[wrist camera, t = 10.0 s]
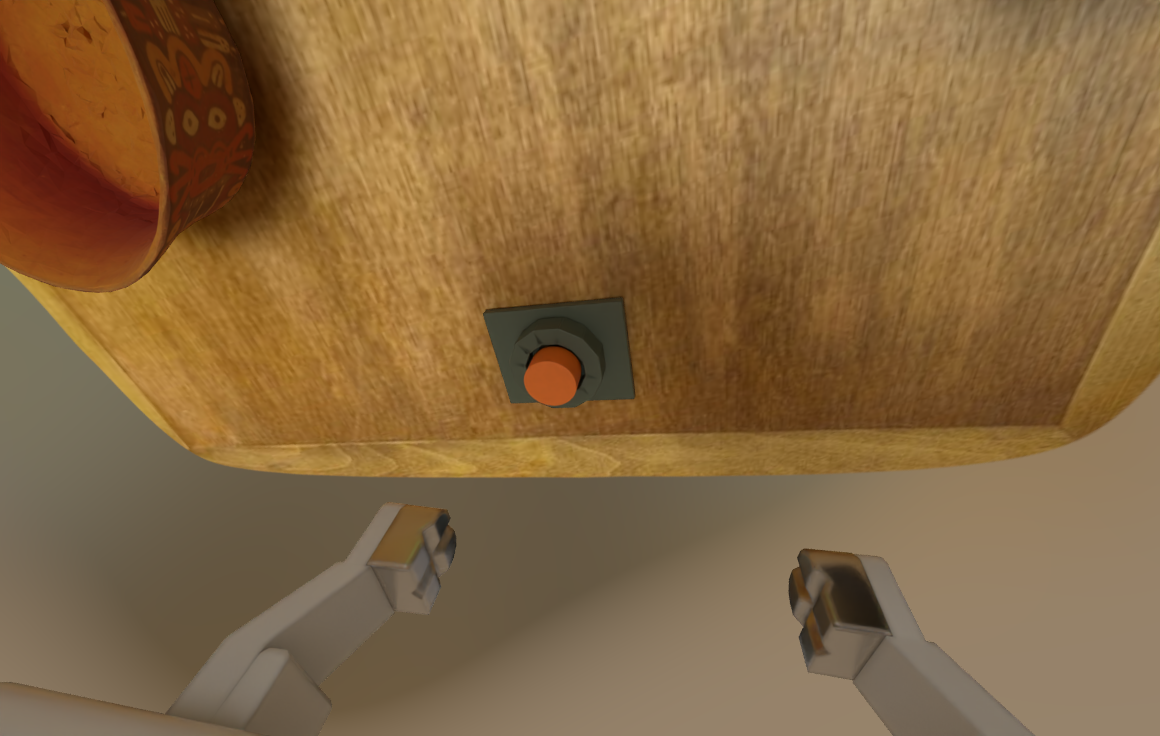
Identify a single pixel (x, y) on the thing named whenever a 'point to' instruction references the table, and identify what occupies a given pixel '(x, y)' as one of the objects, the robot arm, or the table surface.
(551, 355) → the button
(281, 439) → the table surface
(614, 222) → the table surface
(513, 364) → the housing
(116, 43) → the bowl
